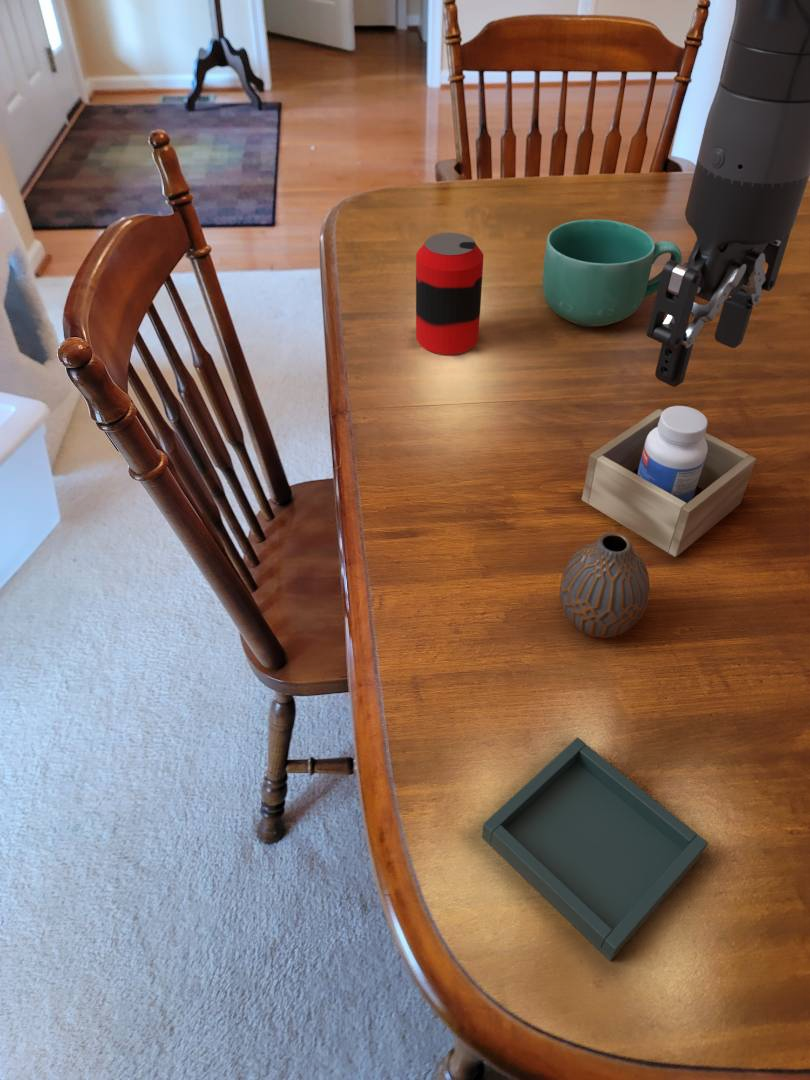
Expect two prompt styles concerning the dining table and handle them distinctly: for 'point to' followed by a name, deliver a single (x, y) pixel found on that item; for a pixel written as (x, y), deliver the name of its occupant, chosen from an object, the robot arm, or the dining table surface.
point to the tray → (594, 845)
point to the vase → (605, 587)
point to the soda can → (448, 293)
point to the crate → (652, 506)
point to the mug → (600, 270)
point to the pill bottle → (675, 452)
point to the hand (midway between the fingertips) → (698, 361)
